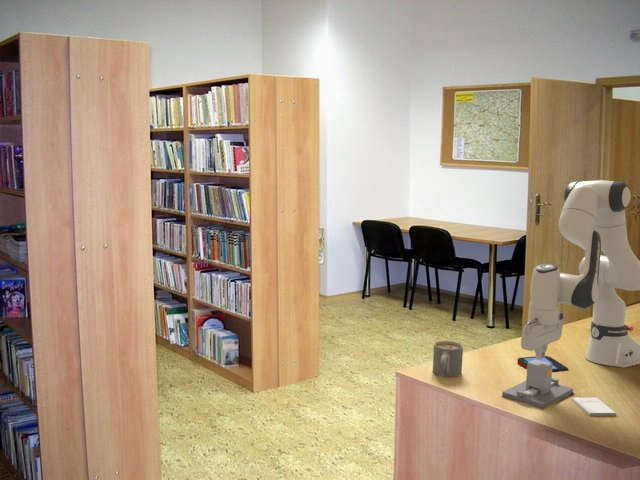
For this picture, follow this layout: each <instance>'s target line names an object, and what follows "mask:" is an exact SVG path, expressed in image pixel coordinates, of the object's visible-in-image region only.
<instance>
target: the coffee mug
mask: <svg viewBox="0 0 640 480" xmlns="http://www.w3.org/2000/svg"><path fill="white" fill-rule="evenodd" d="M463 350H464V345H463V344H461V343H460V342H456V341H453V340H439V341H436V342H434V344H433V360H432V373H433V374H434V375H435V376H439V377H441V376H442V378H458V377H460V376H462V373H463V369H462V368H463V355H464V354H463V353H464V351H463Z"/></svg>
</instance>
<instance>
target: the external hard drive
mask: <svg viewBox="0 0 640 480" xmlns="http://www.w3.org/2000/svg"><path fill="white" fill-rule="evenodd" d="M571 401H572V402H573V403H574V404H575V405H576V406H578V407H579V408H580V409H581V410H582V411H583V412H584V413H585V414H586V415H588V417H616V416H617V412H616V411H614V410H613V409H612V408H611V407H609V406H608V405H607V404H605V403H604V402H603V401H601V400H600V399H599V398H598V397H572V398H571Z"/></svg>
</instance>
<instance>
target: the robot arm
mask: <svg viewBox="0 0 640 480" xmlns="http://www.w3.org/2000/svg"><path fill="white" fill-rule="evenodd" d="M631 196H632V193H631V188H630V186H629V185H628V184H627V183H626V182H625V181H621V180H615V181H613V180H605V179H596V180H585V181H582V180H577V181H576V180H575V181H572V182H570V183H568V185H567V186H566V187H565V189H564V193H563V201H564V204H563V206H562V209H561V212H560V214H559V215H560V216H559V219H558V230H559V232H560V234H561V235H562V237H564V238H565V239H566V240H567V241H569V243H572V244H574V245H575V246H577V247H579V248H581V249H582V250H584V257H583V258H582V259H581V261H580V262H579V265H578V273H579V275H577V274H570V273H566V272H565V273H564V272H560V269H559V267H558V266H557V265H554V264H551V263H544V264H542V263H541V264H538V265H536V266H534V269H533V271H532V276H531V280H530V288H529V294H530V302H529V305H528V317H527V318H528V319H527V320H528V321H527V322H526V324H524V326H523V329H522V332H521V333H522V334H521V341H520V346H521V349H522V350H525V351H529V352H532V351H534V352H535V356H534V357H536V359H542V358H544V357H545V356H546V352H547V350H548V347H549V344H550V345H551V343H555V342H557V341H559V340H560V339H561V337H562V334H563V333H562V332H563V328H564V327H563V325H564V324H563V323H564V322H563V321H564V319H565V314H566V313H565V312H562V311H559V304H565V305H569V306H574V307H577V308H580V309H588V308H590V307H591V306H593V307H592V308H593V309H592V320H591V322H590V323H591V325H590V337H589V341H588V346H587V349H586V353H585V356H584V358H585V359H586V360H587V361H589V362H591V363H595V364H598V365H603V366H604V365H605V366H611V367H617V368H624V369H625V368H628V367H633V366H637V365H640V343H639V342H638V341H636V340H635V339H634V338H633V337H631V335H629V333H628V331H629V332H633V331H634V329H635V327H634V326H633V325H630V324H627V325H626V314H627V305H626V302H625V301H624V300H623V299H622V298H621V297H620V296H619V295H618V294H617V292H616V290H615V289H619V290H624V291H640V260H639V258H637V256H636V255H635V254H634V251H633V250H632V248H631V246H630V243H629V240H628V238H629V237H628V231H627V230H628V229H627V220H626V219H627V217H626V212H625V211H626V209H627V208H628V207H629V205H630V202H631V200H632V199H631V198H632V197H631ZM601 252H602V253H603V254H604V255H601ZM636 364H637V365H636ZM632 365H633V366H632Z"/></svg>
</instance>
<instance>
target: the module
mask: <svg viewBox="0 0 640 480" xmlns="http://www.w3.org/2000/svg"><path fill="white" fill-rule="evenodd" d="M552 375H553V372H552V363H548V362H544V361H540V360H536V359H534V360H532V361H530V362H528V363H527V369H526V380H525V381H526V390H529V389H531V388H533V387H535V388H538V389H540V394H545V393H547V392H549V391H551V378H553V376H552Z"/></svg>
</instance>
